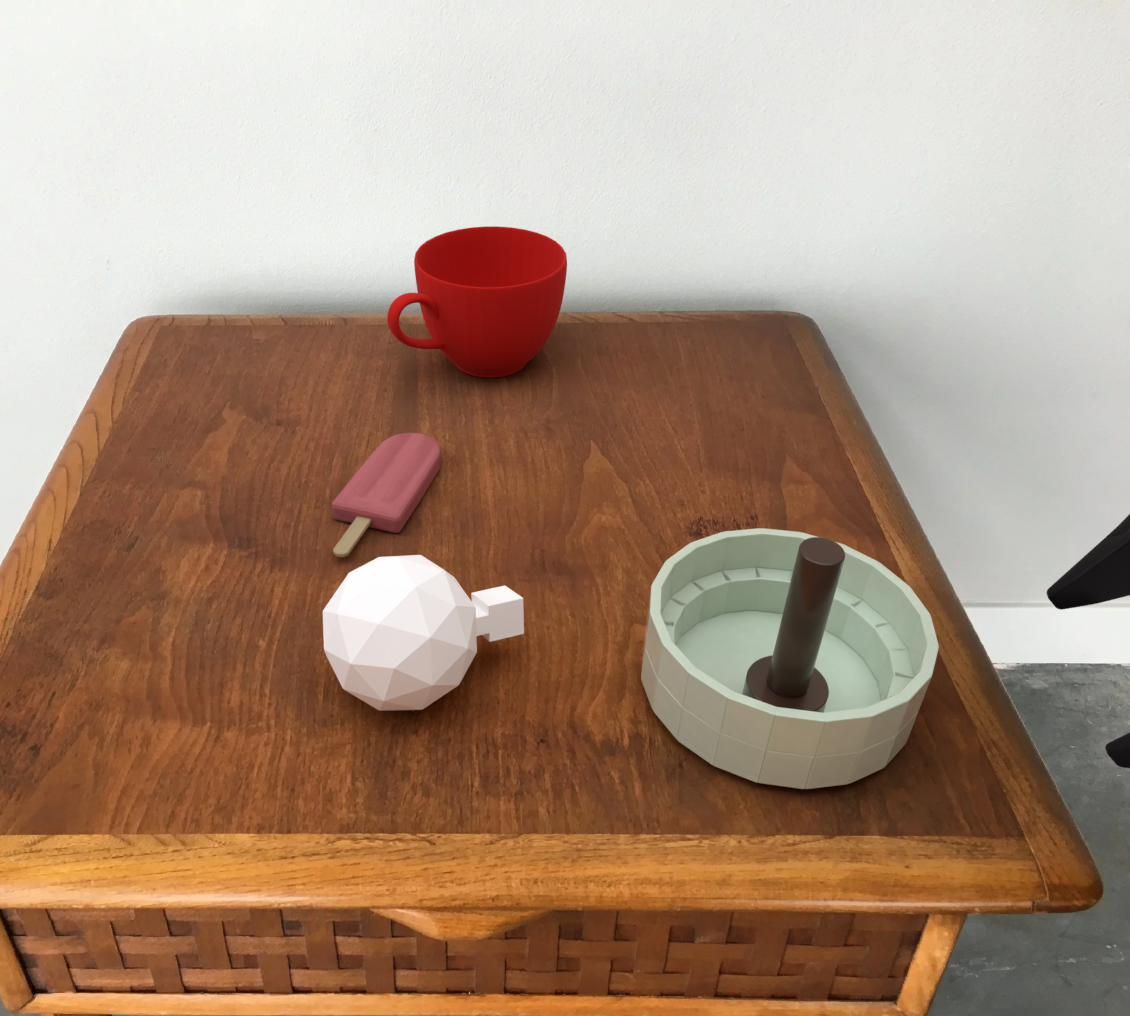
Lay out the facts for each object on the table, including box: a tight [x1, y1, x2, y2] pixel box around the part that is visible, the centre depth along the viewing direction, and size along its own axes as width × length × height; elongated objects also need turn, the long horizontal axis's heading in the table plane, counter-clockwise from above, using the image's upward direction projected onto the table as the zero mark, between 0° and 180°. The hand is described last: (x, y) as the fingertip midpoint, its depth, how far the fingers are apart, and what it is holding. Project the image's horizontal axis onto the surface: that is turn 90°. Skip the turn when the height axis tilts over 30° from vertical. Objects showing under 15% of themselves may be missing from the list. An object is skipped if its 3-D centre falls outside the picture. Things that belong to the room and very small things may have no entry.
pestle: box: [742, 536, 845, 713], centre depth 54 cm, size 4×4×12 cm
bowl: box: [640, 527, 940, 790], centre depth 58 cm, size 15×15×6 cm
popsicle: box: [331, 432, 442, 558], centre depth 74 cm, size 5×2×15 cm
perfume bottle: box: [322, 554, 525, 712], centre depth 58 cm, size 9×9×12 cm
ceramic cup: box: [386, 225, 568, 378], centre depth 88 cm, size 13×17×10 cm
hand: (1078, 672), depth 43 cm, fingers open, 9 cm apart
